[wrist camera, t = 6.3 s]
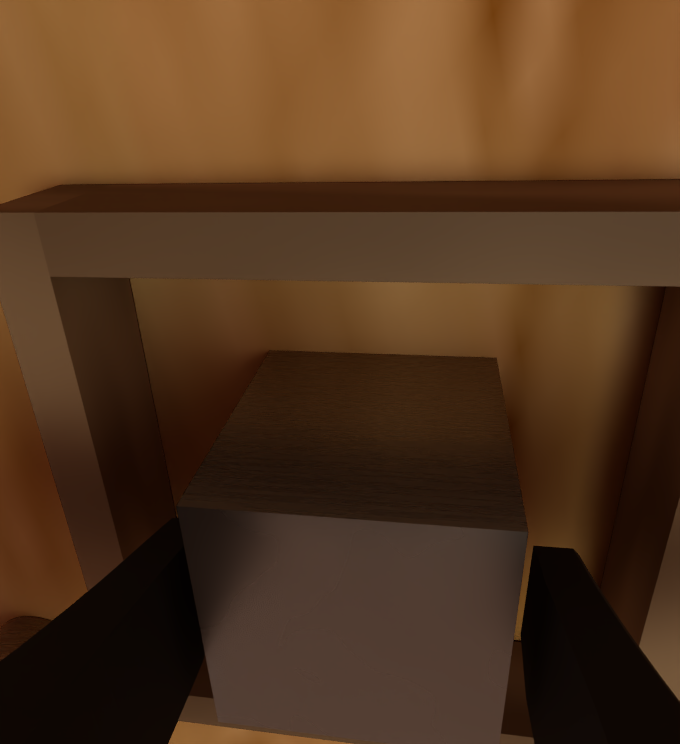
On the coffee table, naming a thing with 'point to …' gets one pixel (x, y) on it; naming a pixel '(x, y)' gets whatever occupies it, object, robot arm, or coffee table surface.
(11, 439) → the coffee table surface
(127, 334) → the square frame
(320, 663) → the grey cube
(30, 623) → the cylinder
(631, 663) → the robot arm
